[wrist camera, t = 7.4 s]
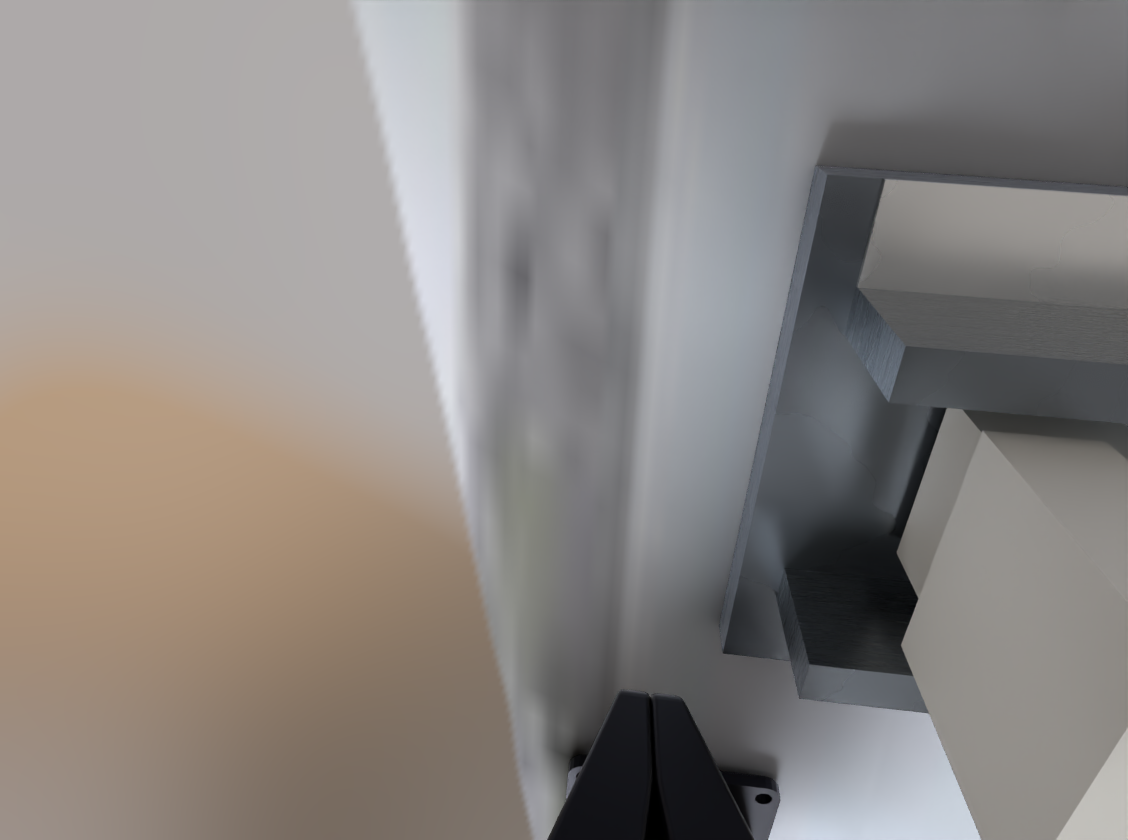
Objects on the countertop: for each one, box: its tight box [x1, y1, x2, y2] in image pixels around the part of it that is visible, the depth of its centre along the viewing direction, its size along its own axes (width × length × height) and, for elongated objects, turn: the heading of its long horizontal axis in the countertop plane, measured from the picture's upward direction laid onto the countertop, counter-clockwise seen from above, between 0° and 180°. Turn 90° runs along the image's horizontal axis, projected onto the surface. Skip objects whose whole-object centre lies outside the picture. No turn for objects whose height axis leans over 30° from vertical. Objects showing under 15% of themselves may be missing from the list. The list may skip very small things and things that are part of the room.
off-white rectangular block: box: [897, 408, 1128, 840], centre depth 12 cm, size 5×4×7 cm
